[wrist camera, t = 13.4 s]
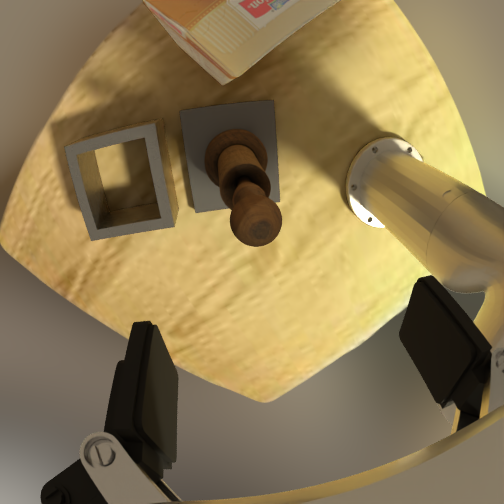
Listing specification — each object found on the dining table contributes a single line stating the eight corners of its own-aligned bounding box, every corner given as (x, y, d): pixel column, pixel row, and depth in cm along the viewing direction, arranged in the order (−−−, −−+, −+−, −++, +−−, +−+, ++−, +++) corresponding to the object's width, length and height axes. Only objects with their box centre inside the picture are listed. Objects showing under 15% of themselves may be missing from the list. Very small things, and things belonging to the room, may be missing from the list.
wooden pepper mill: (234, 116, 29) (261, 146, 14) (276, 155, 32) (339, 225, 17) (192, 160, 31) (174, 239, 16) (235, 196, 34) (259, 297, 19)
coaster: (271, 99, 30) (273, 100, 29) (278, 198, 36) (280, 201, 35) (180, 110, 29) (179, 111, 28) (195, 209, 35) (195, 213, 34)
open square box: (163, 118, 29) (154, 123, 25) (178, 208, 35) (174, 226, 31) (82, 138, 28) (64, 147, 24) (103, 221, 34) (91, 240, 30)
